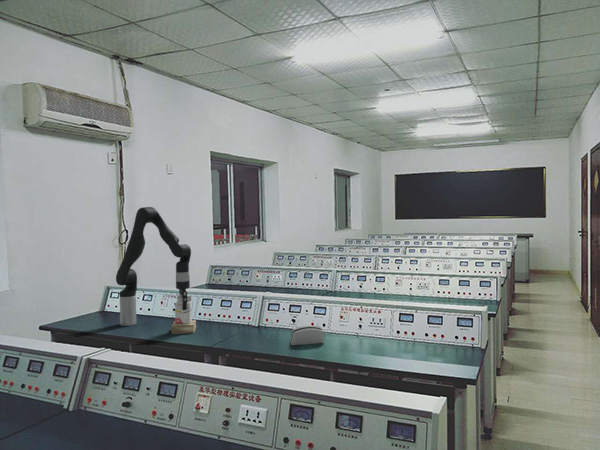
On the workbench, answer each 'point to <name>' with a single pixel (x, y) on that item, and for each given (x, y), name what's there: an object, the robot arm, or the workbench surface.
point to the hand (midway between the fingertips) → (183, 308)
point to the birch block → (183, 327)
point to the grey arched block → (307, 335)
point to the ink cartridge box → (183, 311)
